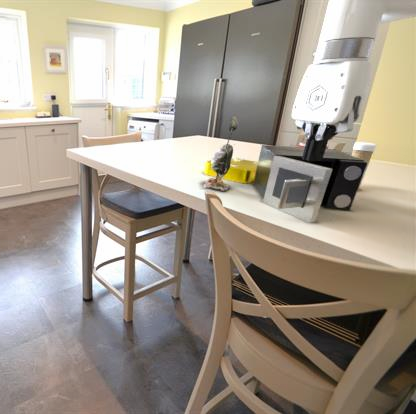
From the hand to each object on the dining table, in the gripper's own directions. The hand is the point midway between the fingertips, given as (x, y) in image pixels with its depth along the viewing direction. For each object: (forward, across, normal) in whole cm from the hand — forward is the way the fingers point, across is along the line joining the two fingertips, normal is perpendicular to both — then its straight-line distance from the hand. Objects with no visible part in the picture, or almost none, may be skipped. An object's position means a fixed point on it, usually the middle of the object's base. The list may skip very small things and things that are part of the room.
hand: (311, 159), depth 55 cm
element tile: (+14, -36, +11) cm, 40 cm away
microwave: (+14, -13, +14) cm, 24 cm away
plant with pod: (+14, -26, -2) cm, 29 cm away
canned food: (+14, -30, +34) cm, 48 cm away
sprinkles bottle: (+14, -17, +36) cm, 42 cm away
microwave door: (+13, -5, 0) cm, 14 cm away
